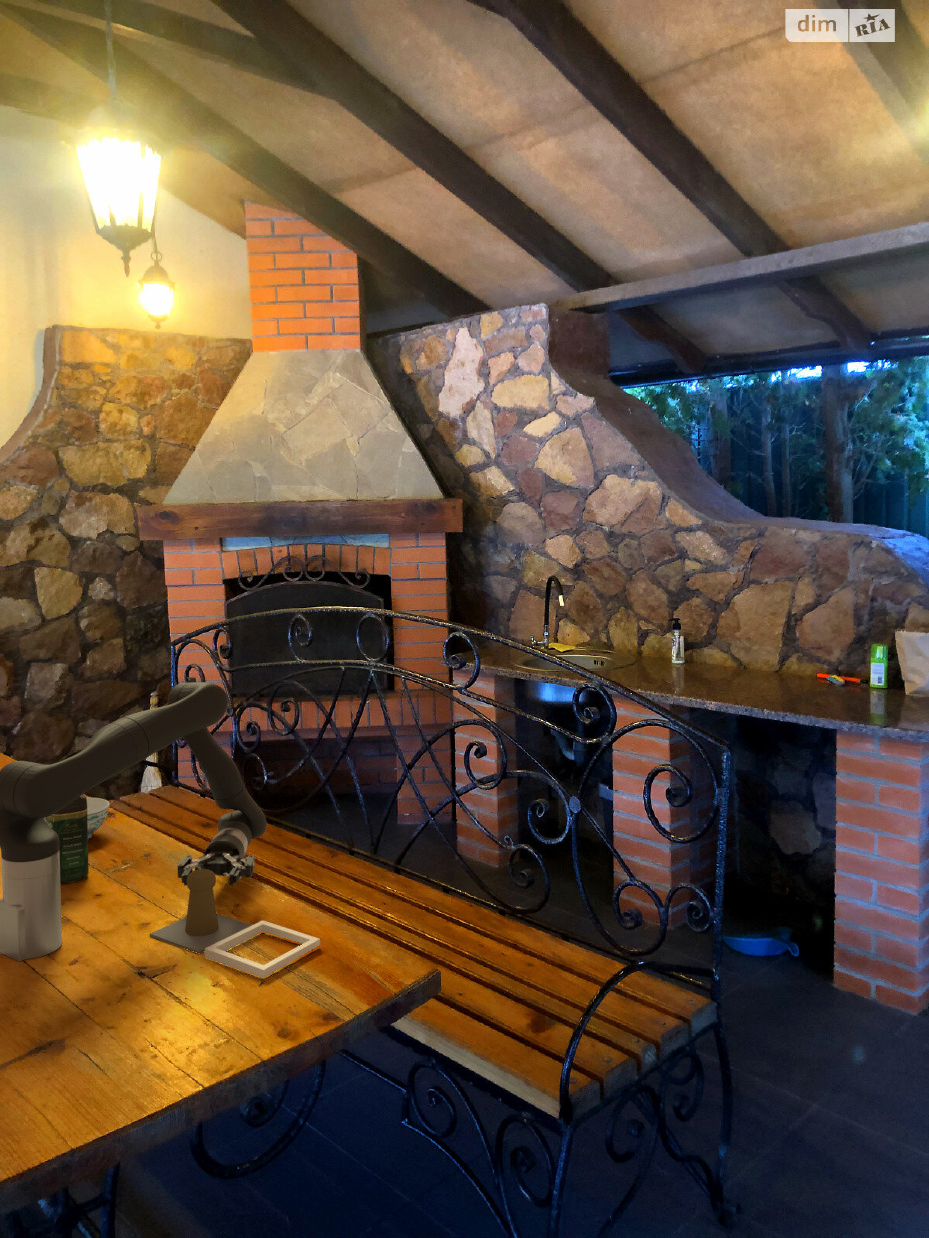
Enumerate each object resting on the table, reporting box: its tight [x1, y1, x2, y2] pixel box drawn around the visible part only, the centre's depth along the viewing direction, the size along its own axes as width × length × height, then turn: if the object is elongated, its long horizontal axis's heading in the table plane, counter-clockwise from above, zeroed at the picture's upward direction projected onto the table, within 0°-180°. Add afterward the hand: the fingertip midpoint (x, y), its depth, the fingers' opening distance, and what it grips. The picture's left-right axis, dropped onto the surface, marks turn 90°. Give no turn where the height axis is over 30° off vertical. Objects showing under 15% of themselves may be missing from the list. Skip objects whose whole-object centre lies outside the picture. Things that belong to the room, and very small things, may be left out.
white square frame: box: [204, 920, 321, 978], centre depth 162 cm, size 14×14×2 cm
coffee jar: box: [46, 793, 90, 884], centre depth 195 cm, size 10×8×19 cm
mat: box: [149, 913, 253, 954], centre depth 170 cm, size 13×13×1 cm
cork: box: [185, 869, 219, 936], centre depth 170 cm, size 6×6×11 cm
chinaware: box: [44, 796, 110, 840], centre depth 220 cm, size 15×15×8 cm
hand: (208, 880), depth 175 cm, fingers open, 8 cm apart
